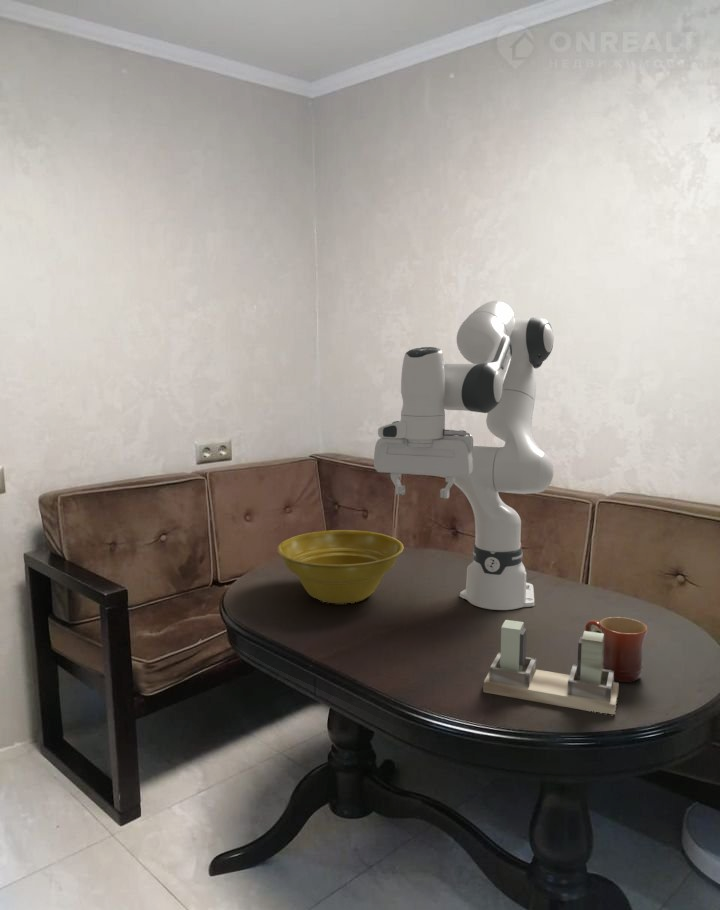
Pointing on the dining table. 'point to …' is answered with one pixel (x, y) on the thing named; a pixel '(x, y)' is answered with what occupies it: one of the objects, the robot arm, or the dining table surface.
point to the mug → (622, 646)
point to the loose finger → (513, 645)
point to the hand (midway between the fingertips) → (422, 496)
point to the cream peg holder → (561, 680)
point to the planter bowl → (340, 562)
